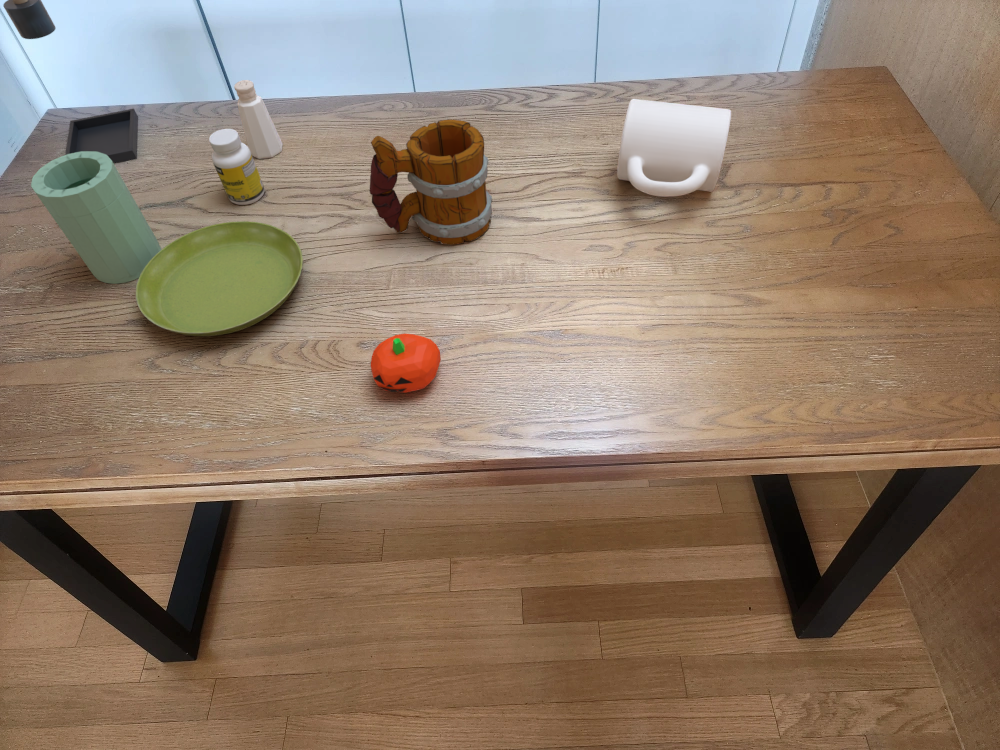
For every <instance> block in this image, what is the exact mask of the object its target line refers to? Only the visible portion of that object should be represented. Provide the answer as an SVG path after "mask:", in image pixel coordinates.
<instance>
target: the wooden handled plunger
mask: <svg viewBox="0 0 1000 750" xmlns="http://www.w3.org/2000/svg"><path fill="white" fill-rule="evenodd" d="M2 5H3V9H4V10H5V12H6V13H7V15H8V17H9V19H10V21H11V22H12V23H13V26H14V27H15V29H16V30H17V32H18V34H19V35H20V37H21V38H23V39H25V40H38V39H42V38H45V37H47V36H50V35H51V34H53V33H54V32H55V31H56V25H55V23H54V21H53V19H52V18H51V15H50V14H49V13H48V11H47V9H46V7H45V5H44V3H43V1H42V0H6V1H4V2H3V4H2Z"/></svg>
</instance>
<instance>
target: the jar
mask: <svg viewBox="0 0 1000 750" xmlns="http://www.w3.org/2000/svg"><path fill="white" fill-rule="evenodd" d="M30 187H31V188H32V190H33V192H34V194H35V195H36V196H37V197H38V199H39V200H40V201H41V203H42V205H43V206H44V207H45V208H46V210H47V211H48V213H49V214H50V216H51V218H52V219H53V221H55V223H56V224H57V226H58V227H59V228H60V230H61V231H62V233H63V234H64V236H65V237H66V238H67V240H68V241H69V243H70V245H71V246H72V247H73V248H74V250H75V252H77V254H78V255H79V257H80V258H81V259H82V261H83V262H84V264H85V266H86V267H87V269H89V271H90V272H91V274H92V275H93V277H94V278H95V279H96V280H97V281H100V282H103V283H105V284H110V285H112V284H113V285H114V284H115V285H118V284H125V283H129V282H133V281H135V280H138V279H139V277H140V274H141V273H142V271H143V269H144V268H145V266H146V265H147V264H148V262H149V261H150V260H151V259H152V258H153V257H154V256H155V255H156V254H157V253H158V252H159V251H160V250H162V249H163V248H162V247H161V245H160V242H159V240H158V239H157V236H156V235H155V233H154V231H153V230H152V228H151V226H150V224H149V223H148V221H147V219H146V217H145V215H144V214H143V212H142V211H141V209H140V207H139V205H138V203H137V202H136V200H135V198H134V197H133V195H132V192H131V191H130V189H129V188H128V186H127V184H126V182H125V181H124V178H123V177H122V176H121V174H120V172H119V170H118V169H117V167H116V165H115V164H114V163H113V162H112V160H111V159H110V158H109V157H108V156H107V155H106V154H103V153H100V152H96V151H81V152H76V153H71V154H67V155H65V154H64V155H62V156H59V157H57V158H55V159H52V160H51V161H49V162H48V163H45V164H44V165H43V166H41V167H40V168H39V169H37V172H35V174H34V175H33V176H32V177H31V182H30Z"/></svg>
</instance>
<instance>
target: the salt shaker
mask: <svg viewBox="0 0 1000 750" xmlns="http://www.w3.org/2000/svg"><path fill="white" fill-rule="evenodd" d="M233 88H234V90H235V92H236V94H237V97H238V99H237V110H238V113H239V117H240V121H241V125H242V129H243V132H244V138H245V141H246V145H247V146H248V148H249V149H250V152H251V154H252V157H253V158H255V159H258V160H265V159H272V158H274V157H275V156H278V155H279V154H280V153H282V152H283V140H282V138H281V136H280V135H279V132H278V130H277V128H276V125H275V123H274V121H273V120H272V117H271V114H270V113H269V111H268V108H267V106H266V104H265V102H264V100H263V98H262V96H261V95H258V94H257V93H256V88H255V85H254V81H252V80H250V79H241V80H239V81H237V82H236V83H235V84H234V86H233Z"/></svg>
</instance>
